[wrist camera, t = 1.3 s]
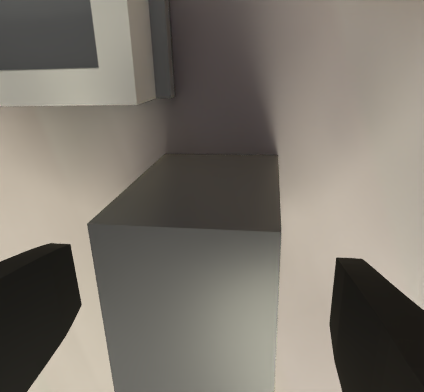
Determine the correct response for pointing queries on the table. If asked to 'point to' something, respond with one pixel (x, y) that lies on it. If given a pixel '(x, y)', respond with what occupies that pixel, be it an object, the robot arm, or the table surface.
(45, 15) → the socket plate
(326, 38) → the table surface
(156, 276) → the plug
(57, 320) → the robot arm
